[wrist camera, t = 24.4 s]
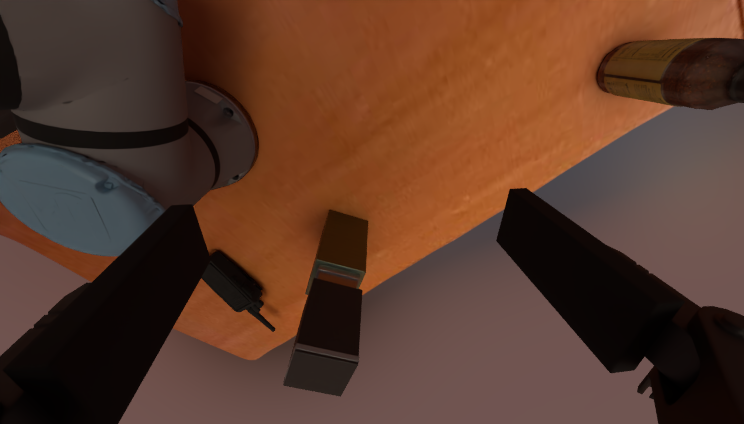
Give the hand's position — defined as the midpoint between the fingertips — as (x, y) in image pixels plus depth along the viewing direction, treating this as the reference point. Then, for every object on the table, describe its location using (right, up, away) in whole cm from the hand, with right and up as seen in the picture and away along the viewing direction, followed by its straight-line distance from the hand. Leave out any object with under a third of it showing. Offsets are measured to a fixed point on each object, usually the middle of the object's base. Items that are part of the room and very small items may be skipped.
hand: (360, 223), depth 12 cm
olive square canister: (-5, -3, +40) cm, 40 cm away
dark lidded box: (-5, -11, +26) cm, 29 cm away
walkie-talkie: (-24, -14, +47) cm, 55 cm away
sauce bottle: (+33, +20, +26) cm, 46 cm away
